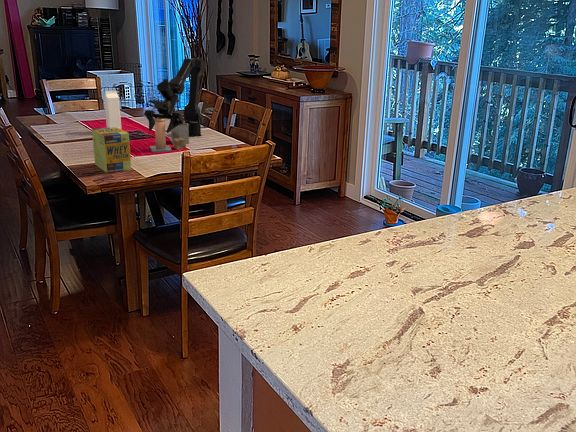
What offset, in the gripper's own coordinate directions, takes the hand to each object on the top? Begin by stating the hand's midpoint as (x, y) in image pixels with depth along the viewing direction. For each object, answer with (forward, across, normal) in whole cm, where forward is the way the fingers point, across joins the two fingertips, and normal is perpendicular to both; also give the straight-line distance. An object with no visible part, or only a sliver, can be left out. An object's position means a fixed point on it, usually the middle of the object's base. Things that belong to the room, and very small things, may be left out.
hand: (158, 131), depth 260 cm
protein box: (+30, -3, -17) cm, 35 cm away
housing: (-7, 0, +20) cm, 21 cm away
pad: (+5, 0, +7) cm, 9 cm away
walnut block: (+1, +7, +12) cm, 13 cm away
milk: (-10, -40, +23) cm, 48 cm away
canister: (+5, 0, +7) cm, 8 cm away
